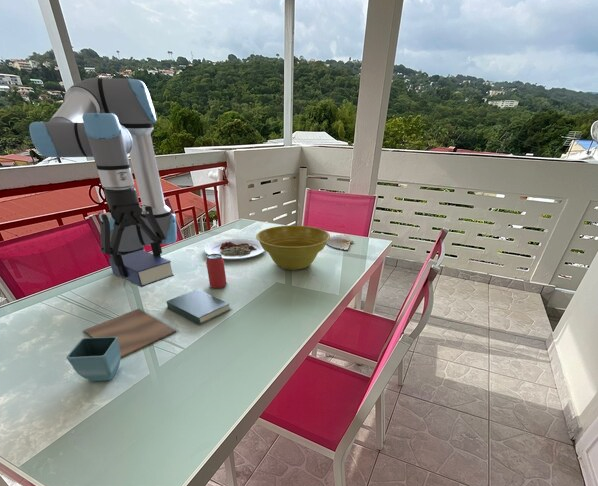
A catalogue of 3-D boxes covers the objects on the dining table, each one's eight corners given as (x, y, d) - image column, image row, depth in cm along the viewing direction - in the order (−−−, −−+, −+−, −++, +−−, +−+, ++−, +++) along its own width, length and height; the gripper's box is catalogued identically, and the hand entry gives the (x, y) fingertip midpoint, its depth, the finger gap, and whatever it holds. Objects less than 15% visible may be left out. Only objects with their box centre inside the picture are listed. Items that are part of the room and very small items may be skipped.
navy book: (113, 273, 98) (108, 259, 95) (145, 263, 105) (141, 249, 102) (141, 287, 90) (136, 271, 88) (174, 275, 97) (170, 260, 95)
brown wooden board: (84, 331, 102) (83, 329, 102) (138, 310, 114) (138, 308, 114) (119, 358, 91) (119, 356, 91) (176, 331, 103) (175, 330, 102)
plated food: (248, 266, 149) (248, 258, 147) (192, 257, 157) (191, 250, 155) (275, 246, 172) (275, 239, 170) (225, 239, 180) (224, 233, 178)
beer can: (223, 289, 128) (219, 259, 121) (207, 288, 129) (202, 258, 122) (229, 283, 133) (225, 253, 126) (214, 281, 134) (209, 252, 127)
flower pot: (94, 365, 89) (82, 337, 83) (128, 363, 89) (118, 336, 84) (79, 387, 81) (64, 357, 76) (116, 385, 82) (104, 356, 77)
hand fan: (352, 235, 189) (325, 234, 189) (352, 234, 188) (325, 233, 189) (355, 250, 167) (325, 249, 168) (355, 249, 167) (325, 248, 167)
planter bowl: (244, 271, 143) (242, 240, 136) (276, 249, 168) (275, 221, 160) (314, 283, 134) (315, 251, 126) (337, 258, 158) (339, 229, 150)
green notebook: (167, 307, 116) (166, 301, 114) (198, 295, 124) (197, 289, 122) (199, 324, 107) (198, 317, 105) (230, 309, 115) (229, 303, 113)
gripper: (78, 195, 75) (110, 286, 87) (167, 183, 89) (183, 262, 102) (64, 191, 78) (96, 279, 91) (151, 180, 93) (168, 256, 106)
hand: (142, 270), depth 97 cm, fingers closed on navy book, 10 cm apart
